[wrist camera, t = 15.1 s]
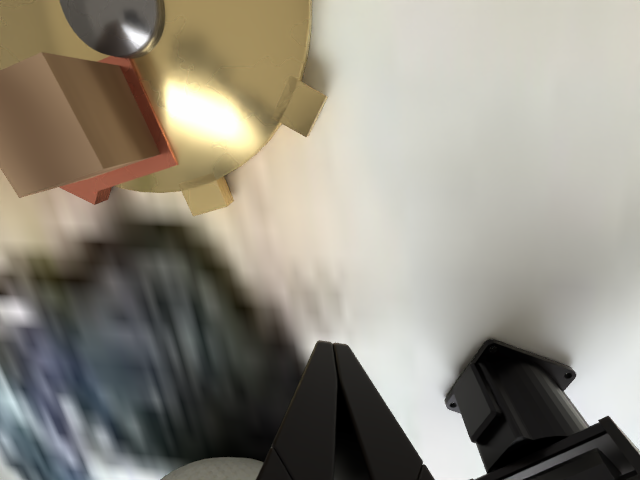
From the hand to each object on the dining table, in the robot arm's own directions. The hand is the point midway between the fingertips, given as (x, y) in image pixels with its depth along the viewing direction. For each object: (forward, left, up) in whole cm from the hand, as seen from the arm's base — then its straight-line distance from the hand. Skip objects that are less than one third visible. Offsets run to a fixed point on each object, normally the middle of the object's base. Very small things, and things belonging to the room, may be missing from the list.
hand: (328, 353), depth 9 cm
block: (+14, -1, -10) cm, 17 cm away
